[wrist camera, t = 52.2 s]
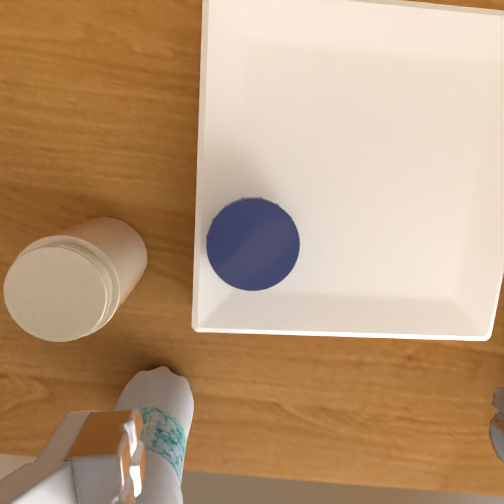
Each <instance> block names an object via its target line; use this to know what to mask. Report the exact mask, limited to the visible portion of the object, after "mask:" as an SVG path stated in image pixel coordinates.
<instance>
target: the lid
mask: <svg viewBox="0 0 504 504" xmlns="http://www.w3.org/2000/svg"><path fill="white" fill-rule="evenodd" d="M206 238H207V241H206V249H207V256H208V260H209V262H210V265H211V267H212V268H213V270H214V272H215V273H216V274H217V275H218V276H219V277H220V278H221V279H222V280H223V281H224V282H225V283H227V284H229V285H230V286H232V287H235V288H237V289H241V290H246V291H260V290H264V289H268V288H270V287H273V286H275V285H277V284H278V283H280V282H281V281H282V280H284V279H285V278H286V277H287V276H288V275H289V273H290V272H291V271H292V269H293V268H294V266H295V264H296V262H297V259H298V255H299V251H300V238H299V233H298V230H297V227H296V225H295V223H294V221H293V220H292V217H291V216H289V215H288V213H287V212H286V211H284V210H283V209H282V208H281V207H279V205H278V204H277V203H276V204H275V203H273V202H271V201H269V200H266V199H262V198H261V197H259V198H254V197H250V198H243V197H242V198H241V199H239V200H236V201H233V202H232V203H230V204H228V205H225V207H224V208H223V209H222V210H220V211H219V213H218V214H217V215H216V216H215V218H213V219H212V223H211V225H210V228H209V231H208V234H207V235H206Z"/></svg>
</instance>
